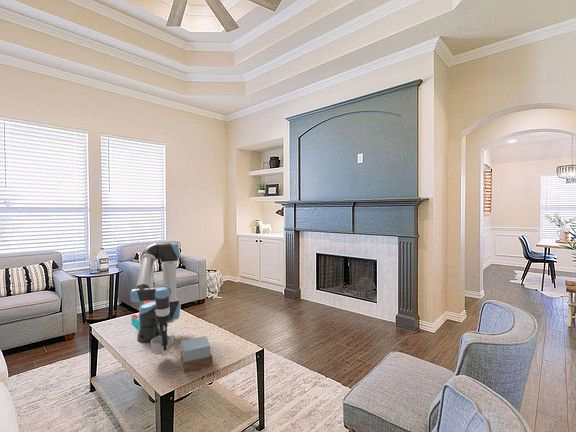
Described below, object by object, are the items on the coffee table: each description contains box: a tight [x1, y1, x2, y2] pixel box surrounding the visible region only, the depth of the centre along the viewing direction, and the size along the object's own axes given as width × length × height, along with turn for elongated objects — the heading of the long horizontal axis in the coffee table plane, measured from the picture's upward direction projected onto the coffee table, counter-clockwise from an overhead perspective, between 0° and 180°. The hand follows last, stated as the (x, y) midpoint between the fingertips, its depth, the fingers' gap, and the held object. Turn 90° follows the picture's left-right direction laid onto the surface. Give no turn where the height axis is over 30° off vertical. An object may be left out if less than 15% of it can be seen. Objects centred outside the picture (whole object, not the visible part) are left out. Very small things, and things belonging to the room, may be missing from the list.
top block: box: [180, 335, 212, 362], centre depth 174 cm, size 14×14×6 cm
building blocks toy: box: [131, 300, 172, 330], centre depth 235 cm, size 19×25×18 cm
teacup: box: [150, 334, 176, 356], centre depth 178 cm, size 14×11×8 cm
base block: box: [180, 351, 213, 374], centre depth 174 cm, size 15×15×6 cm
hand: (164, 350), depth 178 cm, fingers closed on teacup, 11 cm apart
